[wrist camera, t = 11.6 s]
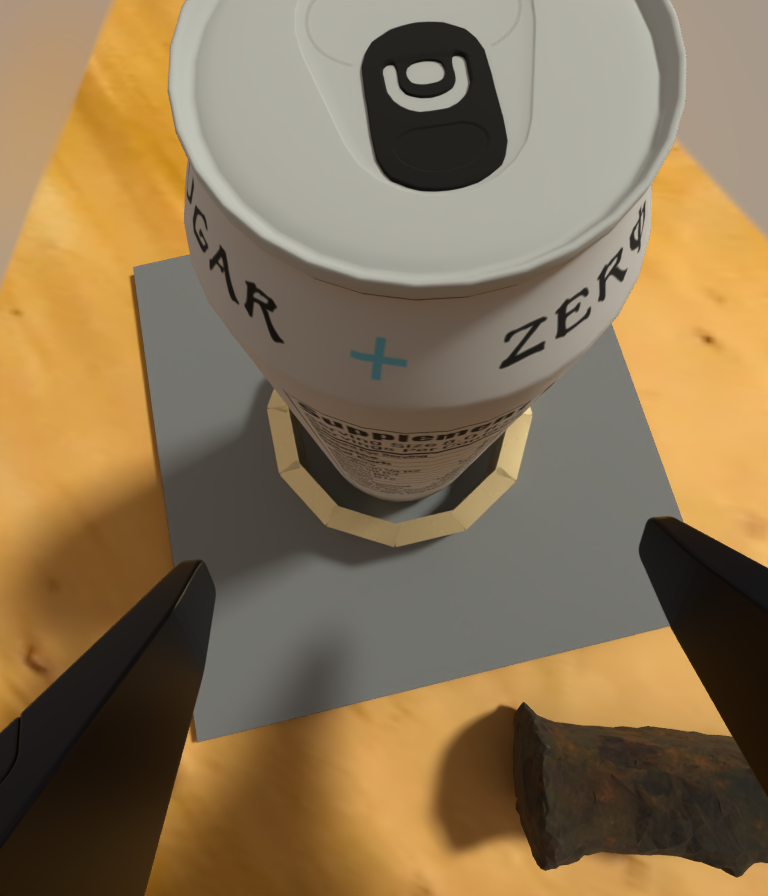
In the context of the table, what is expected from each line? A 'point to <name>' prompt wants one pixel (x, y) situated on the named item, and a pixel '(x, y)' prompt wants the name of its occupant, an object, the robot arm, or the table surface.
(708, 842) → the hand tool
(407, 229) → the energy drink can
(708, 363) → the table surface
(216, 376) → the rubber mat
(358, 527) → the wooden ring
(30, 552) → the table surface
